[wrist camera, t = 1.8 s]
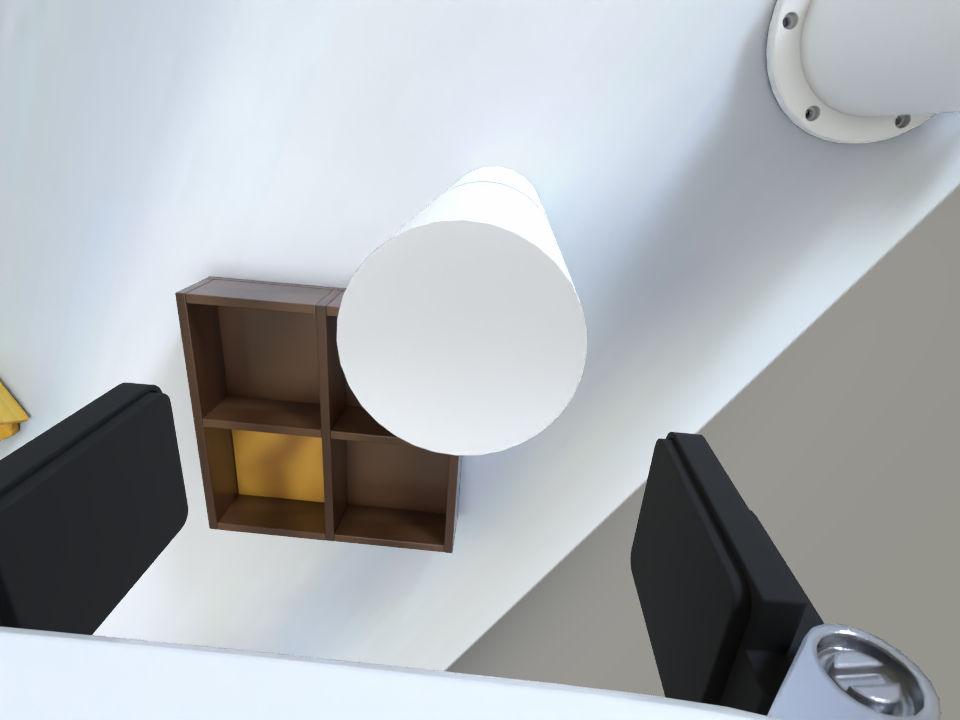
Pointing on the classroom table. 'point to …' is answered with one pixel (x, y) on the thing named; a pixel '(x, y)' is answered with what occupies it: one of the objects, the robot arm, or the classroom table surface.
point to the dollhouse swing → (9, 414)
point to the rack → (300, 426)
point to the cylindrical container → (466, 321)
